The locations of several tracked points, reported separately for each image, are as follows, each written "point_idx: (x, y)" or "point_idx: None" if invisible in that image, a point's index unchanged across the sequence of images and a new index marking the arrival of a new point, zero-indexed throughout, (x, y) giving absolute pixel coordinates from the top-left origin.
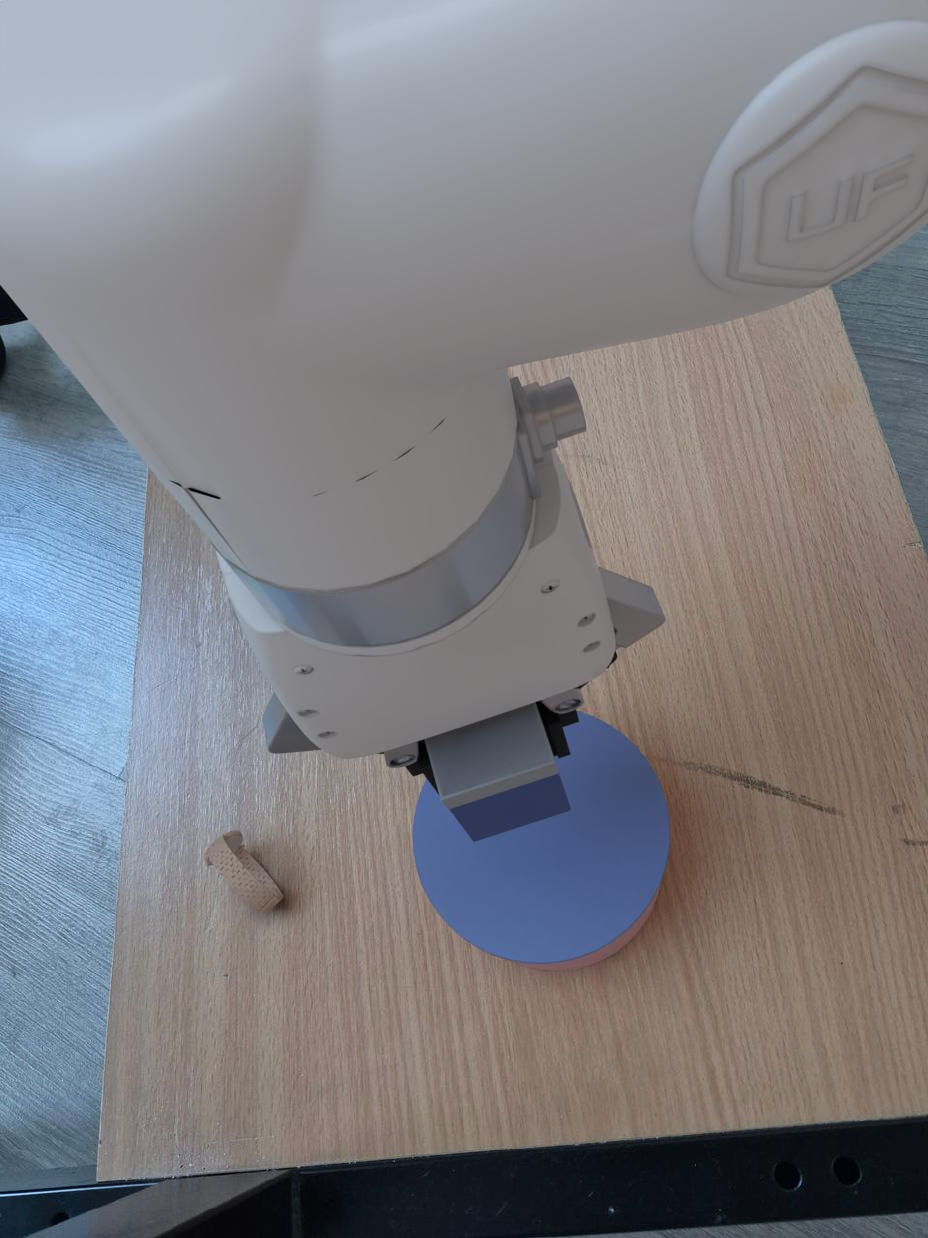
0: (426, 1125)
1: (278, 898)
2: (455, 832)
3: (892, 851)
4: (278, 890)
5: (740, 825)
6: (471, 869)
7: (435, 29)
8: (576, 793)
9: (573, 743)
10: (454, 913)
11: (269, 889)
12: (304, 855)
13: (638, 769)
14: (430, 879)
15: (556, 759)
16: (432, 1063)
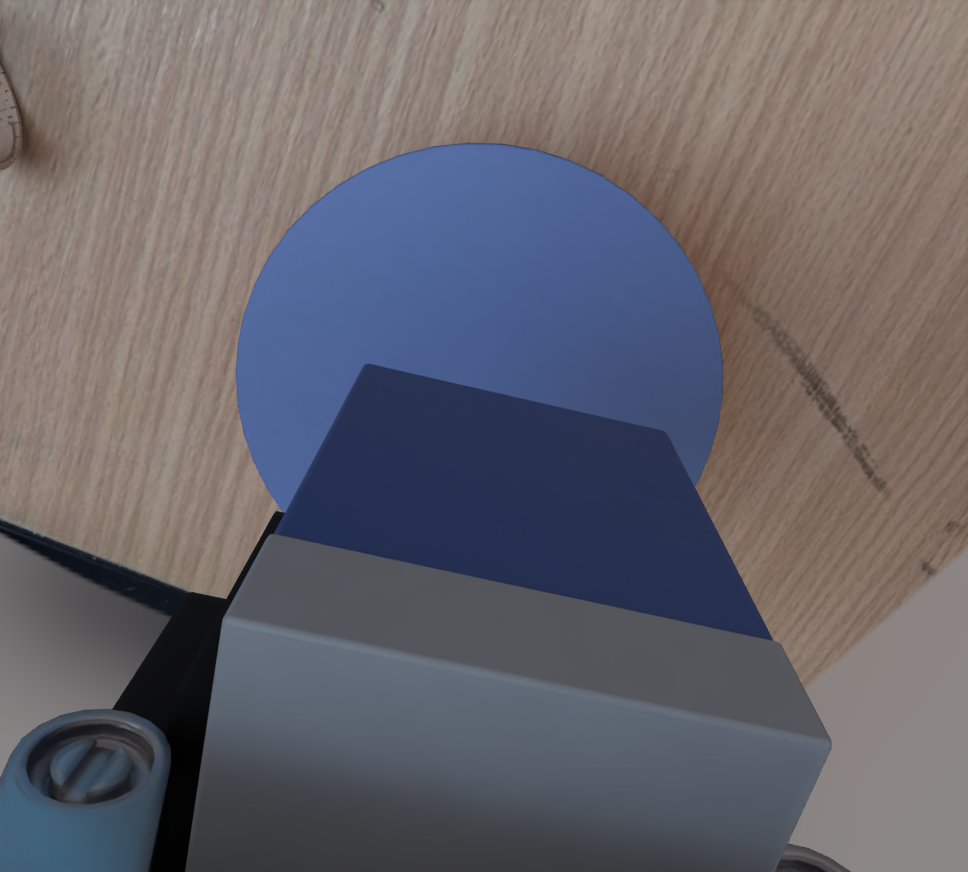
0: (150, 544)
1: (1, 168)
2: (334, 326)
3: (900, 567)
4: (17, 129)
5: (758, 435)
6: (332, 400)
7: None
8: (574, 383)
9: (626, 294)
10: (271, 449)
11: (3, 114)
12: (85, 85)
13: (697, 405)
14: (254, 378)
15: (579, 305)
16: (185, 486)
